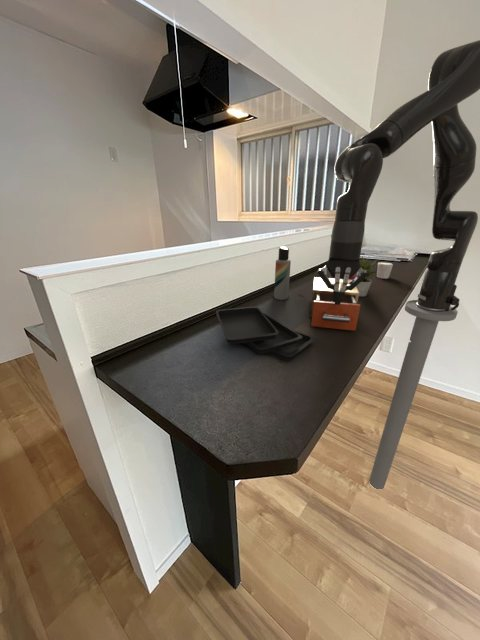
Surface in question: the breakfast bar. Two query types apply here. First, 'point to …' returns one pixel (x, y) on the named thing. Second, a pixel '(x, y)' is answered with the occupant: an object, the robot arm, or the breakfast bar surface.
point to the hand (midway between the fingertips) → (337, 303)
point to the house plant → (365, 283)
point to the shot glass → (384, 269)
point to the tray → (262, 332)
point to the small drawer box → (329, 290)
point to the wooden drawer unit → (335, 312)
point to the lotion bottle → (282, 274)
